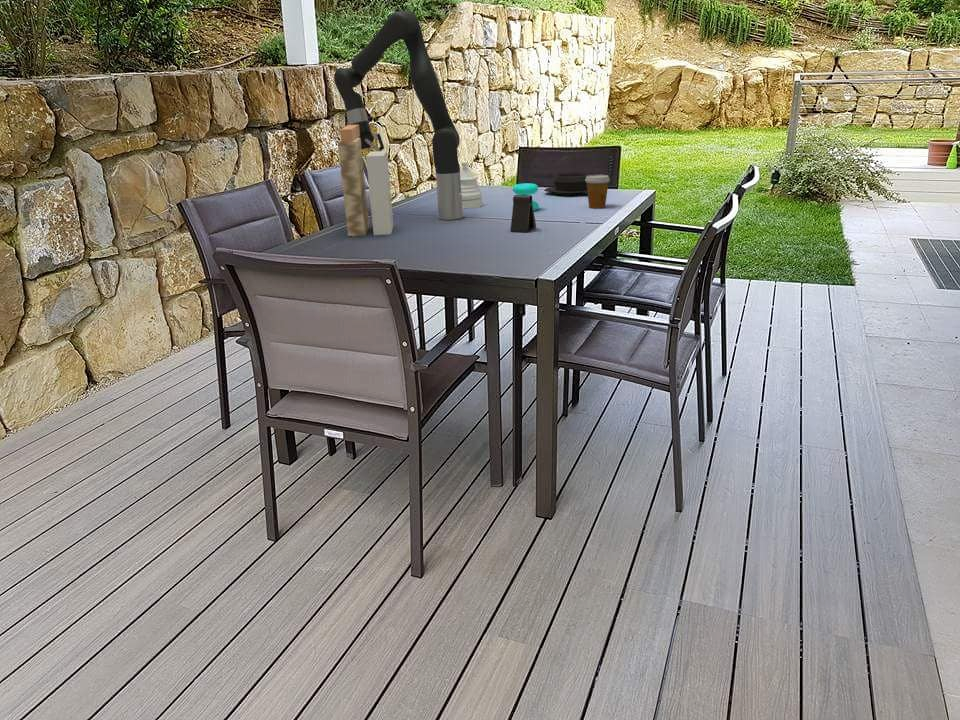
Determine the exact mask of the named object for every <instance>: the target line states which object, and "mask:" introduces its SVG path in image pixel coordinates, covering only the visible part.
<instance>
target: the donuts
mask: <svg viewBox="0 0 960 720" xmlns="http://www.w3.org/2000/svg"><path fill="white" fill-rule="evenodd" d="M512 191H513V193H514V194H515V195H533V194H536V193H537V192H538V191H539V186H538V185H537V184H536V183H530V182H529V183H528V182H527V183H525V182H524V183H518V184H517V183H516V184H515V185H513V187H512ZM532 204H533V210H534V212H535V211H537V210H538V209H539V203H538V202H537V201H535V200H532Z"/></svg>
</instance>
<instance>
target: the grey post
mask: <svg viewBox="0 0 960 720" xmlns="http://www.w3.org/2000/svg"><path fill="white" fill-rule="evenodd" d="M365 159H366V167H367V168H366V170H367V179H368V189H369V190H368V191H369V198H370V199H369V200H370V209H371V220H372V221H371V222H372V230H373V236H382V235H383V236H385V235H392V231H393V228H394V217H393V205H392V195H391V194H392V193H391V180H390V172H389V171H390V170H389V161H388V151H387V150H381V151H376V150H375V151H370V152H368V154H367V155H365Z"/></svg>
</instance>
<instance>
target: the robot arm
mask: <svg viewBox="0 0 960 720" xmlns="http://www.w3.org/2000/svg"><path fill="white" fill-rule="evenodd" d="M421 28H422V27H421V24H420V22H419V19H418V16H416V14H415V13H414V12H413V11H410V10H398V11H394V12H392V13H391V14H390V15H389V16H388V17H387V19H386V20H385V22H384V23H383V24H382V26H381V28H380V29H379V30H378V32H377V33H376V34H375V35H374V37H373V38H372V39H371V40H370V41H369V42H368V43H367V44H366V45H365V47H363V48H362V49H361V50H360V51H359V52H358V53H357V54H356V55H355V56H354V57H353V58H352V60H351V66H350V67H347V68H346V67H340V68H337V69H336V70H335V71H334V74H333V81H334V85H335V88H336V89H337V91H338V93H339V95H340V97H341V98H342V101H343V103H344V108H345V112H346V115H347V116H346V117H347V123H348V125H359V130H360V136H359V137H358V138H360V139H361V149H362V151H363V150H366V149H370V148H372V149H374V150H375V152H376V151H384V149H385V145H384V143H383V140H382V135H381V133H377V134H375V135H374V134H372V131H371V126H370V122H369V118H368V114H367V111H366V109H365V105H364V100H363V97H362V95H361V94H360V93H358V92H356V91H355V90H354V88H356V87H358V86H359V85H361V83H362V82H363V80H364V78H365V77H366V76H367V74H368V73H369V72H370V71H371V70H372V69H373V68H374V67H375V66H376V65H377V64H378V63H379V61H380V60H381V59H382V57H383V55H384V53H385V52H386V51H387V50H388V49H389V48H390V47H391V46H392V45H394V44H395V43H397V42H399V41H403V43H404V45H405V48H406V50H407V53H408V55H409V75H410V81H411V84H412V87H413V91H414V92H415V95H416V97H417V99H418V101H419V103H420V104H421V106H422V108H423V109H424V112H426V114H427V117H428V118H429V120H430V122H431V126H432V128H433V132H434V134H433V136H432V140H431V141H432V142H431V144H432V145H431V146H432V157H433V158H432V159H433V166H434V169H435V179H436V180H435V183H436V184H435V185H436V194H437V195H436V196H437V197H436V198H437V210H438V211H437V212H438V213H437V214H438V219H439V220H443V221H449V220H450V221H452V220H460V219H464V216H463V214H464V213H463V209H462V194H461V179H460V168H461V166H460V162H459V159H458V158H459V156H458V155H459V154H458V148H459V145H460V143H461V142H460V140H461V139H460V136H459V135H460V134H459V132H458V130H457V128H456V126H455V125H454V122H453V120H452V118H451V116H450V114H449V110H448V108H447V104H446V101H445V97H444V95H443V91H442V89H441V85H440V82H439V80H438V76H437V74H436V72H435V68H434V67H433V64H432V63H433V62H432V61H431V58H430V56H429V53H428V50H427V47H426V43H425V40H424V37H423V36H424V35H423V32H422V29H421ZM374 140H376V141H378V143H379V146H380V147H378V146H377V145H375V144H374V143H373V142H374Z"/></svg>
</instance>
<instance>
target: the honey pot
mask: <svg viewBox="0 0 960 720" xmlns="http://www.w3.org/2000/svg"><path fill="white" fill-rule="evenodd" d="M460 164H461V166H460V179H461V194H462V210H464V209H463V208H472V209H476V208H475V207H478V208H481V207H483V197H482V191H481V189H480V187H479V183H478V179H479V177H478V176H477V175H475V174H474V173H473V171H472V169H471V168H470V167H469V166H468V161H467V162H466V161H461V162H460ZM480 206H481V207H480Z"/></svg>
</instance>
